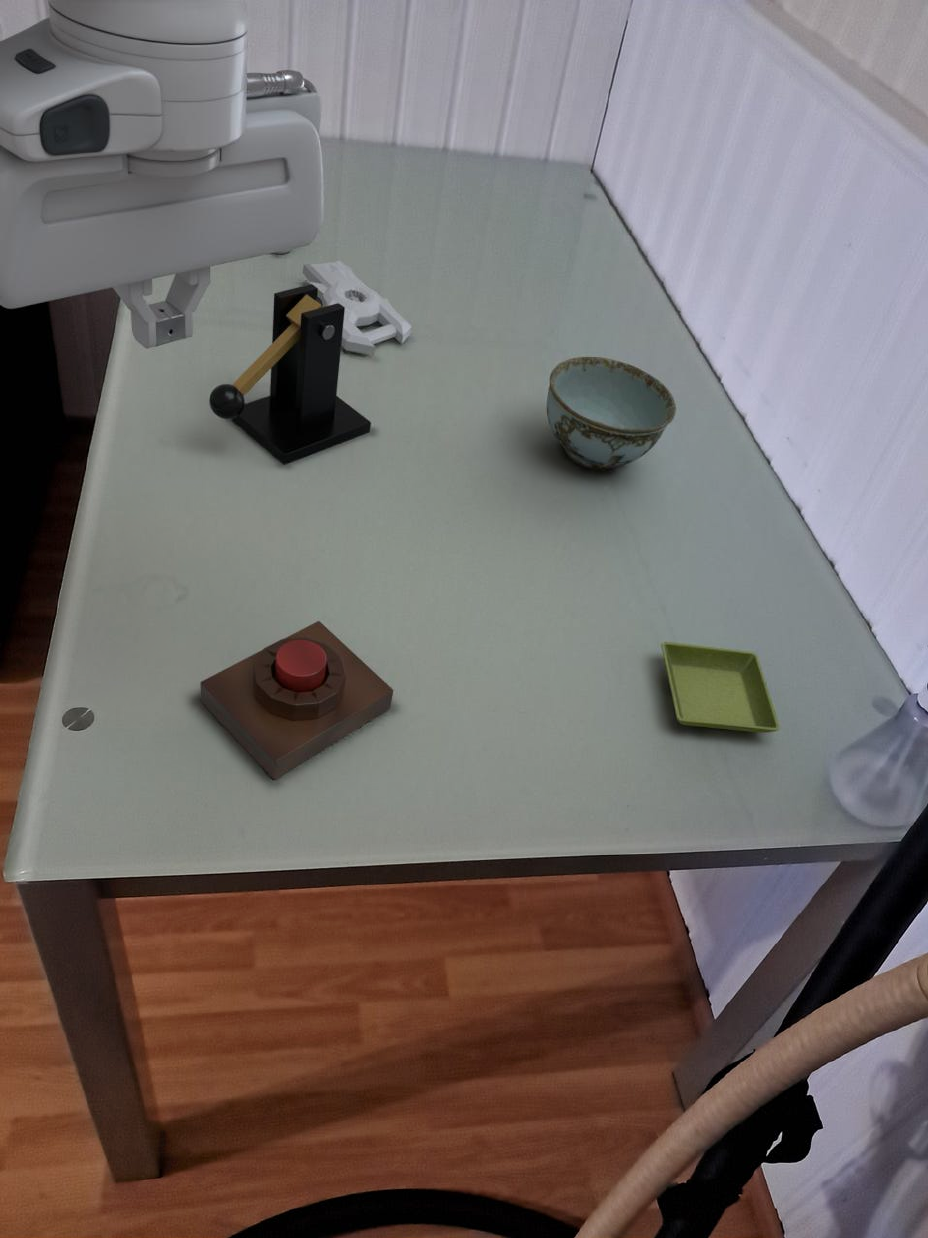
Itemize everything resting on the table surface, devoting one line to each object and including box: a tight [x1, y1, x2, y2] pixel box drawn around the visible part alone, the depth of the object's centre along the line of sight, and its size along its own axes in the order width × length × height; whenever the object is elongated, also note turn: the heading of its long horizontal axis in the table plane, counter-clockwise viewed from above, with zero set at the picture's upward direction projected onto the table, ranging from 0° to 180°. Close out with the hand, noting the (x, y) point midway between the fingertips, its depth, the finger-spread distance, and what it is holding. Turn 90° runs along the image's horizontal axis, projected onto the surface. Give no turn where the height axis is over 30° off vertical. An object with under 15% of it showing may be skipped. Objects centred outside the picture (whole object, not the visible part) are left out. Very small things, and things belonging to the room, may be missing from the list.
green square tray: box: [661, 641, 780, 734], centre depth 80 cm, size 9×9×2 cm
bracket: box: [230, 284, 372, 465], centre depth 94 cm, size 11×9×14 cm
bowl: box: [546, 356, 677, 471], centre depth 101 cm, size 14×13×8 cm
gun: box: [302, 259, 413, 356], centre depth 115 cm, size 18×4×10 cm
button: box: [275, 640, 326, 692], centre depth 70 cm, size 4×4×2 cm
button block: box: [199, 620, 394, 781], centre depth 71 cm, size 11×9×4 cm
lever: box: [208, 295, 323, 420], centre depth 90 cm, size 14×3×3 cm
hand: (162, 338), depth 56 cm, fingers closed
